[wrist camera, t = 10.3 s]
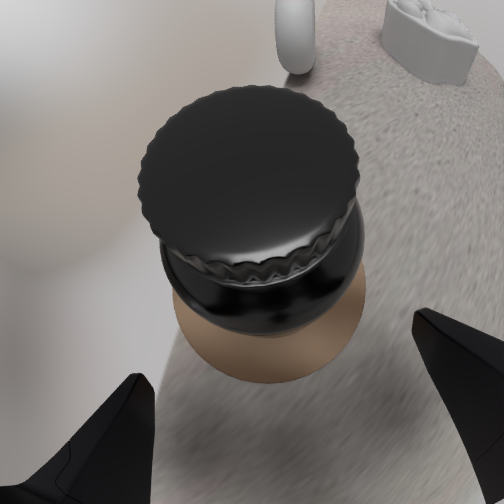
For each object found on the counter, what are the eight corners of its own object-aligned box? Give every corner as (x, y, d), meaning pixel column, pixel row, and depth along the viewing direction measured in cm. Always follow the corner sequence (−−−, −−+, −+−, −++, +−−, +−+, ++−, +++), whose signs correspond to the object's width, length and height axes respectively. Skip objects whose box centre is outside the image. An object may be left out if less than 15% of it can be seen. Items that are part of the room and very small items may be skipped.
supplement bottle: (194, 275, 17) (69, 160, 6) (278, 209, 18) (263, 40, 7) (262, 364, 15) (203, 407, 4) (352, 288, 16) (459, 172, 5)
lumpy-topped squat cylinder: (418, 84, 23) (437, 24, 14) (363, 32, 27) (368, -18, 19) (471, 87, 22) (492, 40, 14) (417, 36, 27) (427, -6, 19)
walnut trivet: (354, 388, 15) (357, 389, 14) (164, 364, 16) (159, 364, 16) (361, 207, 18) (364, 202, 18) (195, 196, 20) (192, 191, 19)
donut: (286, 46, 26) (280, -24, 17) (315, 48, 26) (314, -23, 16) (276, 92, 23) (267, 0, 14) (313, 95, 23) (314, 2, 13)
